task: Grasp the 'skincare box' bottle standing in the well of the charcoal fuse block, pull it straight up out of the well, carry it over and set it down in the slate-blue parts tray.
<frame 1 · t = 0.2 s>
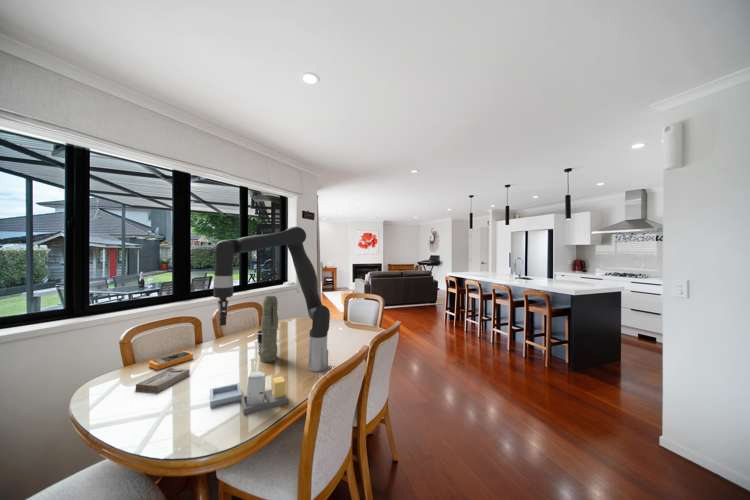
hand: (222, 322, 121), 29 cm above the table, fingers open, 8 cm apart
fuse block: (261, 403, 111), on the table
tray: (225, 397, 114), on the table
thermos: (268, 359, 155), on the table
box: (164, 383, 125), on the table
skincare box: (255, 405, 110), on the table
multimeter: (172, 363, 146), on the table
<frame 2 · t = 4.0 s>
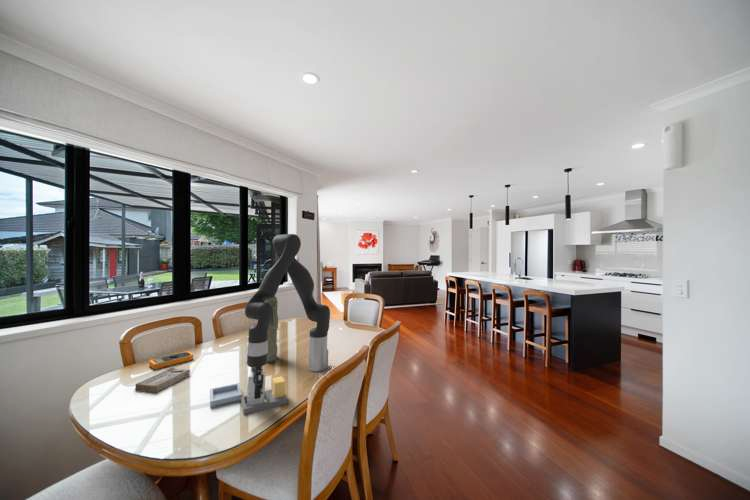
hand: (256, 394, 110), 4 cm above the table, fingers closed on skincare box, 5 cm apart
skincare box: (255, 404, 110), on the table, touching gripper
when the fingers open (6 cm above the table, at t = 11.1 s): skincare box drops 1 cm, resting on tray.
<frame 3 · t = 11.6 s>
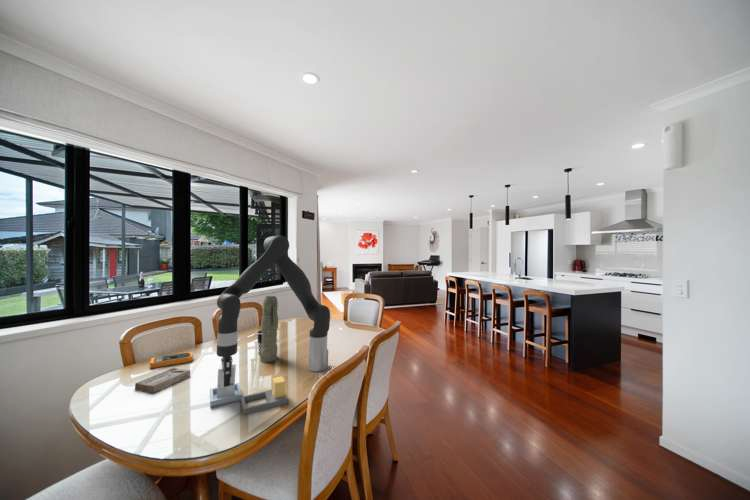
hand: (226, 381, 114), 7 cm above the table, fingers open, 8 cm apart
skincare box: (225, 396, 115), resting on tray
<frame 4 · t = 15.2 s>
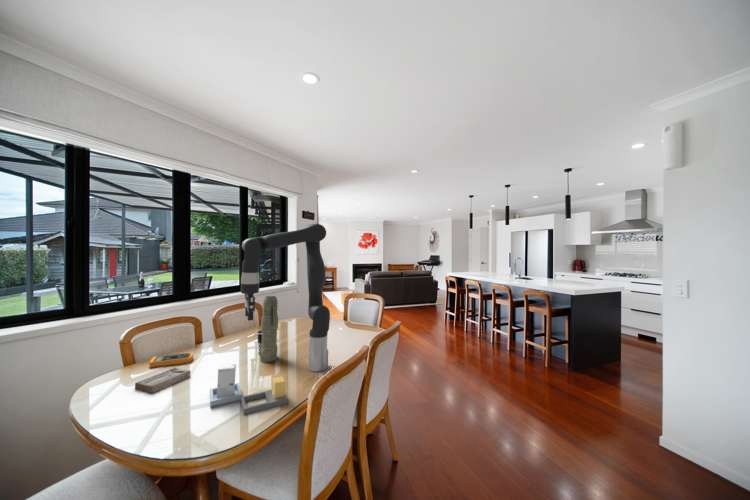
hand: (249, 318, 126), 30 cm above the table, fingers open, 8 cm apart
at the end: skincare box inside the target area on the tray (0.2 cm from its centre), point 0.4 cm above the tray's base; the gripper is holding nothing; skincare box touching tray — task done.
